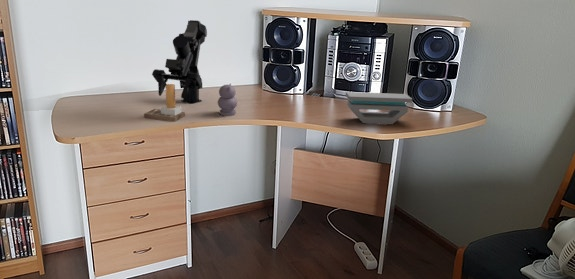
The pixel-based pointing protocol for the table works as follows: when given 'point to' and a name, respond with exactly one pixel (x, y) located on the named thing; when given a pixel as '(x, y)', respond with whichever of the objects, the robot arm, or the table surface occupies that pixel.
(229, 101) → the grey stacked rounded piece
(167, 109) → the rubber stamp
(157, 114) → the walnut board
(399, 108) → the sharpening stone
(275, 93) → the table surface
